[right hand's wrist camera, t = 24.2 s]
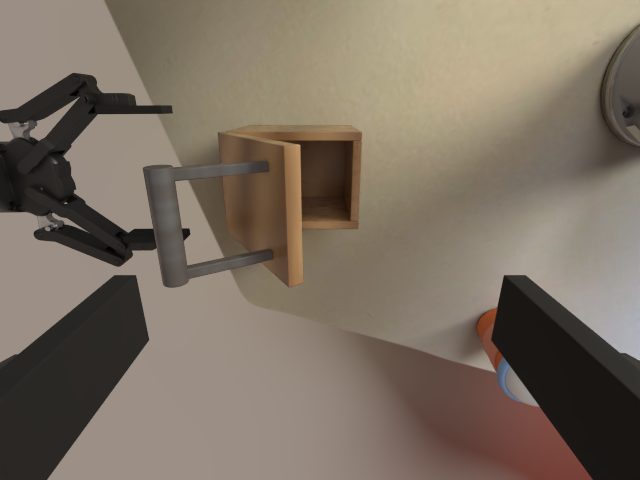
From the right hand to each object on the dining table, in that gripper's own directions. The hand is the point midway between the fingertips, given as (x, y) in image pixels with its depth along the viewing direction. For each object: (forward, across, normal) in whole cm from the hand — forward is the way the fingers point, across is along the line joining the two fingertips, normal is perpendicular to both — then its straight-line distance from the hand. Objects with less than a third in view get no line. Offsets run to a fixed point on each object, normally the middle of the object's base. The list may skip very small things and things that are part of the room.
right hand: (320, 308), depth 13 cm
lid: (+17, -5, 0) cm, 18 cm away
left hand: (+27, -15, 0) cm, 31 cm away
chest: (+34, -2, 0) cm, 34 cm away
